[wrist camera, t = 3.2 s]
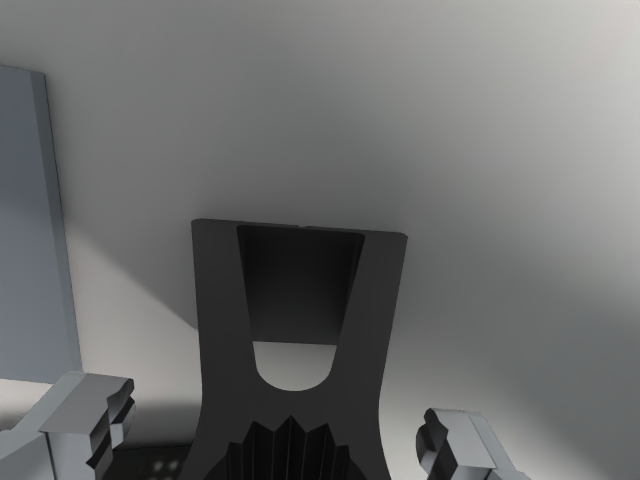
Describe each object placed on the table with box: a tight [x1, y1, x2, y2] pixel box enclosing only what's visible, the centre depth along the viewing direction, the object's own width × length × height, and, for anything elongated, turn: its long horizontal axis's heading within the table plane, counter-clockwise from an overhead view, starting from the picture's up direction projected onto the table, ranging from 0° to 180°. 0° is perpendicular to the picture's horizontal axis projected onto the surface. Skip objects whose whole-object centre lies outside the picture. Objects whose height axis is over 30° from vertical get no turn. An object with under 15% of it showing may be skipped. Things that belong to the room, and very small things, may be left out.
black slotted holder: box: [177, 219, 408, 480], centre depth 9 cm, size 9×6×12 cm, turn 85°
